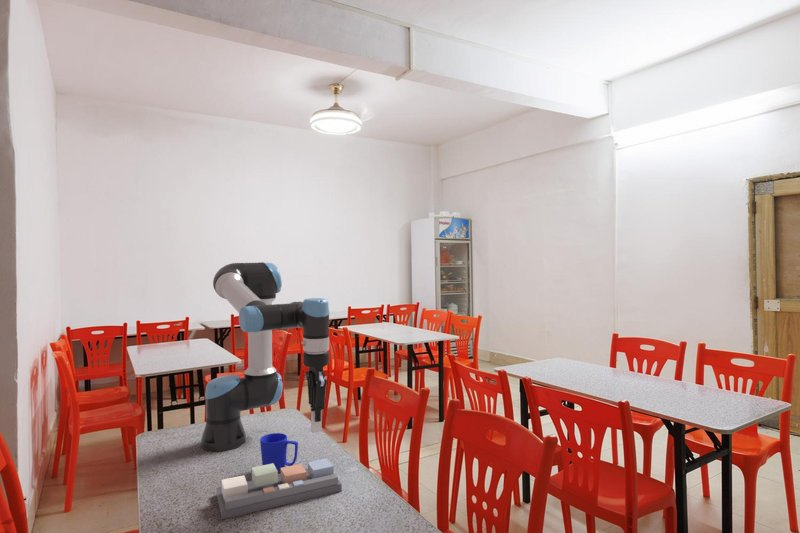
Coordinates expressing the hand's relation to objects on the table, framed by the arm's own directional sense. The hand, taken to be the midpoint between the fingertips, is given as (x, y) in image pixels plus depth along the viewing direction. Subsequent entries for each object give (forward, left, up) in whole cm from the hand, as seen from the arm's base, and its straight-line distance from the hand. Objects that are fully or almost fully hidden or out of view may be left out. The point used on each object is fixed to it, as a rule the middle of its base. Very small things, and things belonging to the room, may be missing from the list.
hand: (316, 431), depth 140 cm
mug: (-14, -8, -16) cm, 22 cm away
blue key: (+1, +1, -13) cm, 13 cm away
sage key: (+1, -15, -11) cm, 19 cm away
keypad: (+1, -11, -15) cm, 19 cm away
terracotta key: (+1, -7, -13) cm, 15 cm away
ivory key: (+1, -23, -13) cm, 26 cm away
